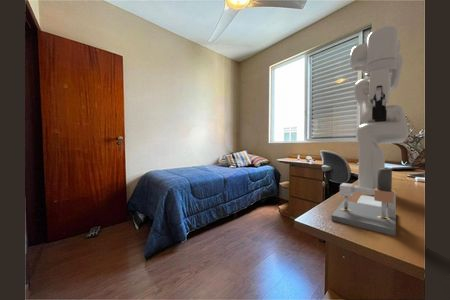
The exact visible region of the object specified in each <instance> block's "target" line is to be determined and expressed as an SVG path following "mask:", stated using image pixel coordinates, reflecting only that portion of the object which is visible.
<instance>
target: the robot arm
mask: <svg viewBox="0 0 450 300" xmlns="http://www.w3.org/2000/svg"><path fill="white" fill-rule="evenodd" d="M400 51H401V42H400V39H399V38H398V28H397V27H396V26H395V25H386V26H382V27H379V28H376V29H375V30H373V31H372V32H370V33H369V34H368V36H367V39H366V42H365V43H364V42H363V43H359V44H357V45H356V46H355V45H354V47H352V49H351V52H350V53H349V54H350V55H349V63H350V67H351V69H352V70H354V71H361V73H362V74H363V75H364V76H366V78H362V79H359V80H358V81H357V82H355V84H354V87H353V93H354V96H355V100H356V102H357V103H358V105H359V119H360V123H361V124H360V125H359V126H358V127H357V129H356V137H357V142H358V169H357V171H358V178H357V180H358V181H357V182H358V183H357V184H354V186H356V187H364V188H371V189H375V188H377V181H378V168H386V167H385V163H386V159H385V158H386V156H385V155H386V154H385V151H384V150H383V149H382V148H381V146H379V145H378V144H402V143H404V142H406V140H407V139H408V136H409V130H408V129H409V128H408V123H407V119H406V114H405V113H406V112H405V110H404V107H403V106H401V105H400V104H388V103H389V99H390V94H391V92H392V91H395V90H396V89H397V87H399V82H400V79H401V78H400V77H401V74H402V68H403V60H404V59H403V56H402V53H400Z"/></svg>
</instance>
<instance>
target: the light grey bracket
mask: <svg viewBox="0 0 450 300" xmlns="http://www.w3.org/2000/svg"><path fill="white" fill-rule="evenodd" d="M354 193H357V194H362V195H368V196H375V189H371V188H364V187H356V186H355V184H354V183H348V182H342V183H340V185H339V196H343V198H344V199H343V201H344V209H348V201H349V197H352V196H353V195H354ZM396 196H397V192H396V191H394V204H393V203H387V208H388V217H389V218H394V219H395V210H396V205H397V204H396V202H397V201H396V199H397V197H396Z"/></svg>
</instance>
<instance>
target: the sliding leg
mask: <svg viewBox="0 0 450 300" xmlns="http://www.w3.org/2000/svg"><path fill="white" fill-rule="evenodd" d="M392 179H393V169H392V168H386V167H384V168H378V181H377V188H375V195H373V197H374V200H375V201H381V202H382V205H381V216H382V217H386V208H387V207H386V202H387V204H388V203H393V204H394V192H395V190H393V189H392V186H393V185H392V182H393V180H392Z"/></svg>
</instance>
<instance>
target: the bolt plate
mask: <svg viewBox="0 0 450 300" xmlns="http://www.w3.org/2000/svg"><path fill="white" fill-rule="evenodd" d="M396 213H397V212H396V209H395V219H394V218H389V217H388V207H386V217H382V216H381V207H378V206H373V205H367V204H362V203H357V201H356V202H354V201H349V200H348V209H344V200H343V201H342V202H341V203H340V205H338V206H337V208H336V209H335V210H334V212H333V213H332V214H331V219H330V220H331V221H333V222H338V223H342V224H345V225H350V226H354V227H358V228H360V229H361V228H362V229H366V230H370V231H373V232H374V231H375V232H378V233H381V234H385V235H389V236H394V237H396V233H397V232H396V231H397V229H396V228H397V227H396V226H397V225H396V222H397V220H396V219H397V218H396Z"/></svg>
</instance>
